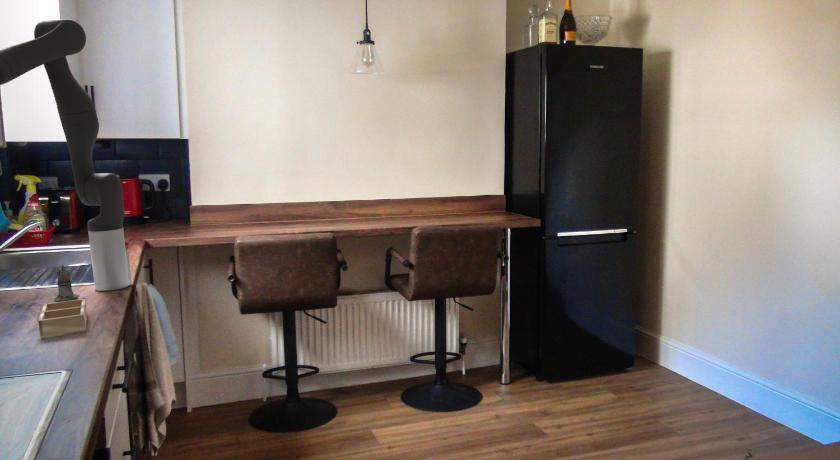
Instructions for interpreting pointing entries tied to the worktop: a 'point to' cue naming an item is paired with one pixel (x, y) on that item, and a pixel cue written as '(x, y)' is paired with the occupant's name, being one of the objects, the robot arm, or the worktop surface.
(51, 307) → the caddy
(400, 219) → the worktop surface
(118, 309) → the worktop surface
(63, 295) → the grey stone statue
